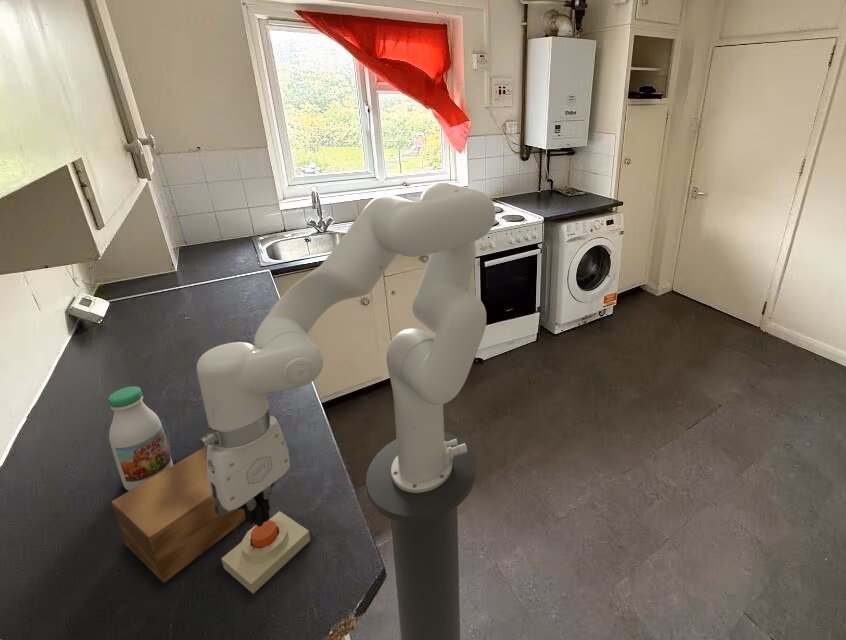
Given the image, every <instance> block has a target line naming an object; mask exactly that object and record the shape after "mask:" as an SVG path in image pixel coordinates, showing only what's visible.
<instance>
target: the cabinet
mask: <svg viewBox="0 0 846 640" xmlns="http://www.w3.org/2000/svg"><path fill="white" fill-rule="evenodd" d="M207 448H208V446H206V447H205V448H204V447H202V448H200V449H198V450H197V451H195V452H194V453H192V454H190V455H188V456H187V457H184V458H183V459H182V460H180V461H178V462H177V463H174V464H173V466H171V467H170V468H168V469H166V470H165V471H163V472H161V473H159V474H158V475H156V476H154V477H153V478H151V479H149V480H147V481H146V482H144V483H142V484H141V485H139V486H137V487H135V488H134V489H132V490H130V491H127V492H125V493H123V494H122V495H120V496H119V497H117V498H115V499H113V500H112V501H111V505H112V508H113V512H114V514H115V518H116V520H117V522H118V525H119V526H118V527H119V529H120V531H121V535H122V538H123V540H124V543H125V546H126V547H127V548H128V549H129V550H130V551H131V552H132V553H133V554H134V555H135V556H136V557H137V558H138V559H139V560H140V561H141V562H142V564H144V565H145V566H146V567H147V568H148V570H150V571H151V572H152V573H153V574H154V576H156V577H157V578H158V579H159V580H160V581H161V582H162V583H163V584H165V583H166V582H168V581H169V580H170V579H172V577H174V576H176V574H178V573H179V572H181V571H182V570H183V569H184V568H186V567H187V566H188V565H189V564H191V563H192V562H194V560H196V559H197V558H199V557H200V556H201V555H202V554H203V553H205V552H206V551H208V550H209V549H210V548H211V547H212V546H214V545H216V544H217V543H218V542H219V541H220V540H222V539H223V538H224V537H226V536H227V535H228V534H229V533H231V532H232V531H233V530H235V529H236V528H237V527H239V526H240V525H242V523H243V522H245V521H247V520H246V517H245V512H244V509H235V510H232V511H231V512H229V513H227V514H225V515H223V516H219V515H218V514H216V513H215V512H214V509H215V500H213V499H212V497H211V494H210V491H209V485H208V477H207Z"/></svg>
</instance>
